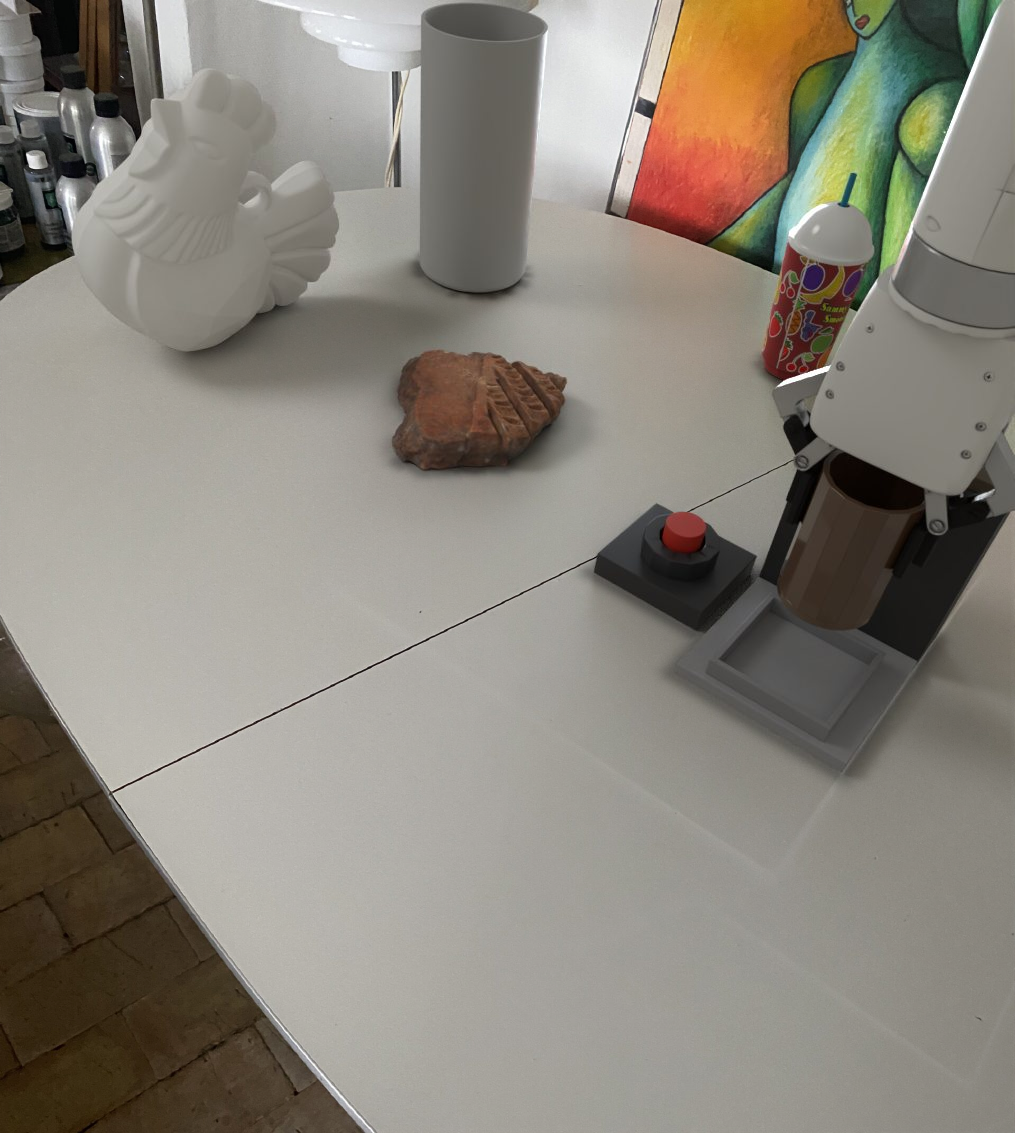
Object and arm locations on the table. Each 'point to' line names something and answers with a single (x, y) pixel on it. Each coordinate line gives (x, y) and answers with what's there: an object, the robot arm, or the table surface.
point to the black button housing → (674, 569)
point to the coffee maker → (832, 646)
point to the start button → (684, 532)
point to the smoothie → (816, 286)
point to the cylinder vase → (478, 142)
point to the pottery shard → (472, 409)
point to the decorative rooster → (203, 220)
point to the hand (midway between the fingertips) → (851, 538)
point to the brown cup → (848, 543)
